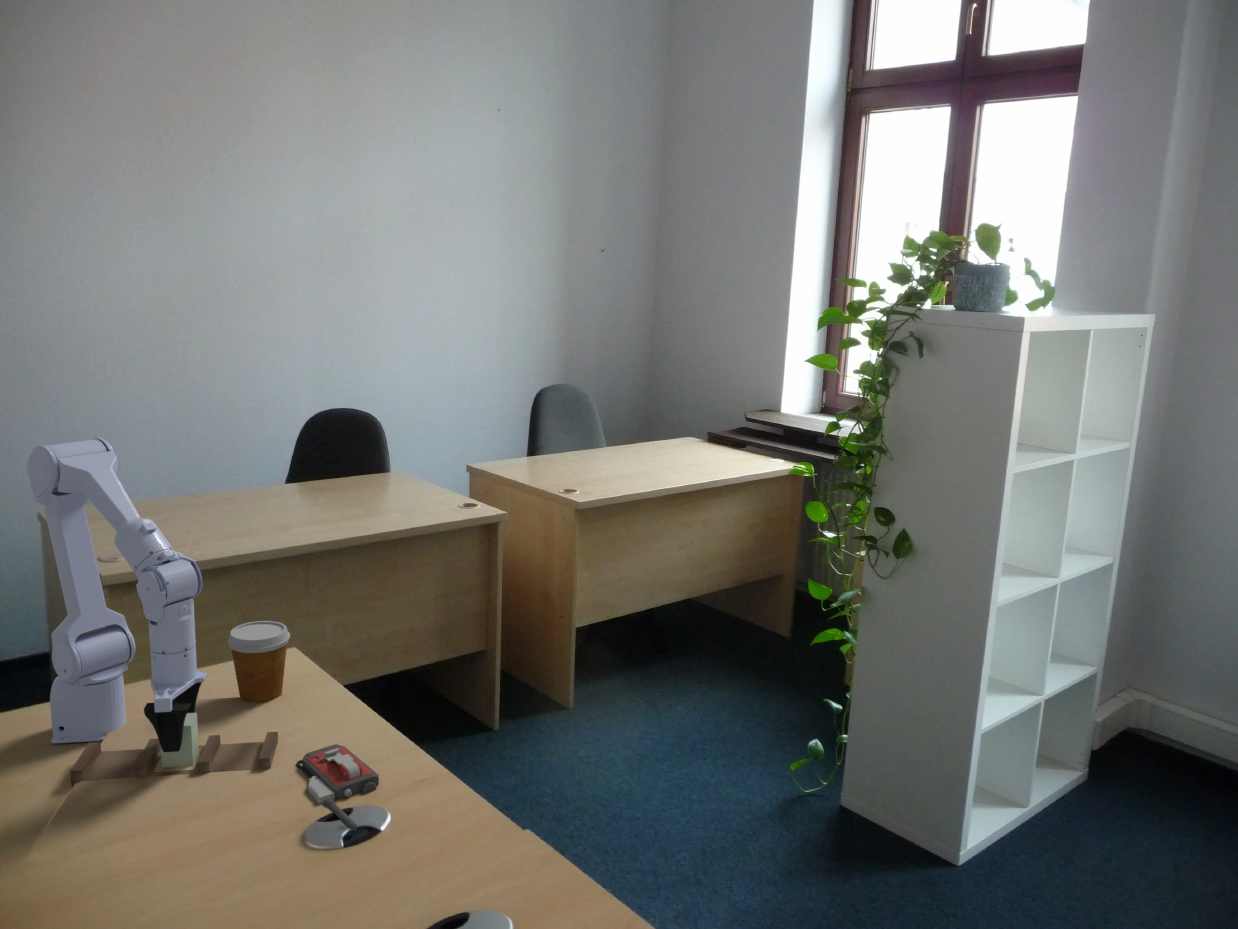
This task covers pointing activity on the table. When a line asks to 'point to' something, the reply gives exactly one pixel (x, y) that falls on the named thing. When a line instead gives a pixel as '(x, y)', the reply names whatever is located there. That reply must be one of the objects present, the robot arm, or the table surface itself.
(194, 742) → the sage block
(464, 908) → the table surface
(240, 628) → the disposable coffee cup
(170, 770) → the notch rail
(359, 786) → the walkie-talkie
